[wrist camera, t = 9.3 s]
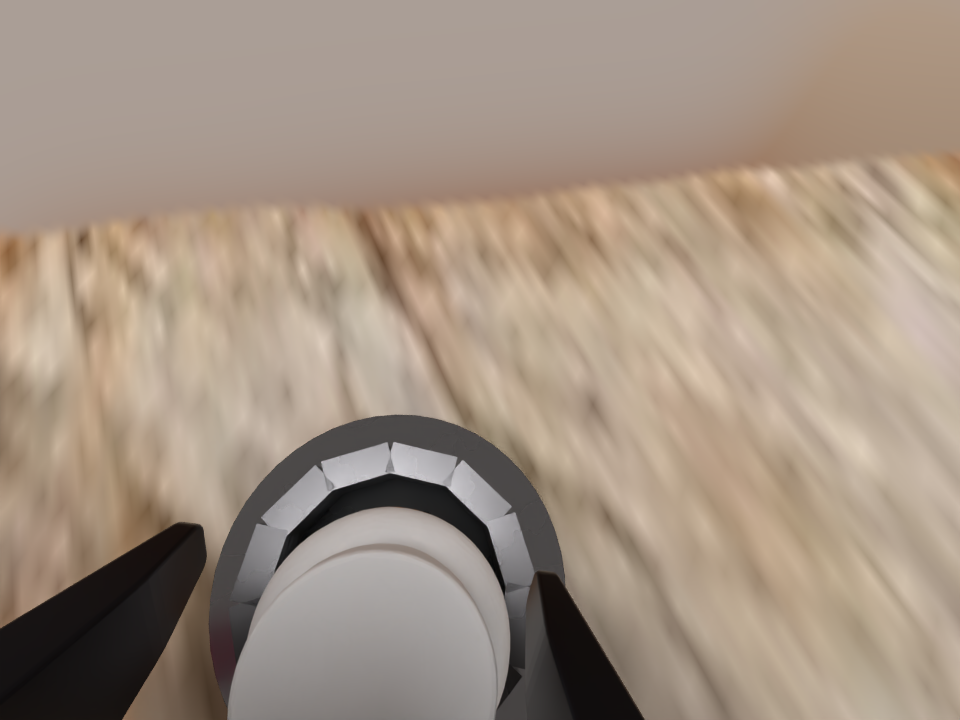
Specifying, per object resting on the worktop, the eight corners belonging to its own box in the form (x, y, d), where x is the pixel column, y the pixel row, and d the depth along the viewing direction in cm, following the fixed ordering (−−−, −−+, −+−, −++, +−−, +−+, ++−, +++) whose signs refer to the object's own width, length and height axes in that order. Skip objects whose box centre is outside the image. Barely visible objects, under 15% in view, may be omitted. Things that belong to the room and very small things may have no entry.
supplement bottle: (483, 672, 16) (571, 888, 7) (313, 697, 15) (148, 981, 6) (468, 502, 17) (524, 489, 8) (315, 517, 17) (187, 521, 7)
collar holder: (393, 882, 15) (381, 974, 12) (151, 596, 17) (88, 612, 14) (620, 569, 18) (656, 578, 15) (399, 363, 20) (392, 335, 17)
